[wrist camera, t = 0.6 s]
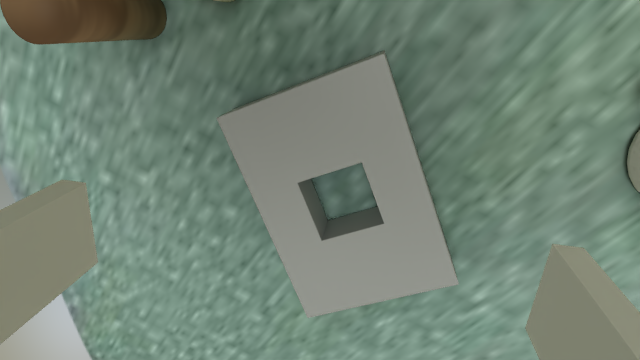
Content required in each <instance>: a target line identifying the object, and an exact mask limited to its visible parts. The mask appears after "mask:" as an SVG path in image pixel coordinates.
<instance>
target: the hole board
mask: <svg viewBox="0 0 640 360" xmlns="http://www.w3.org/2000/svg"><path fill="white" fill-rule="evenodd" d="M217 120H218V122H219V125H220V127H221V129H222V131H223V133H224V136H225V138H226V140H227V142H228V144H229V147H230V149H231V151H232V153H233V155H234V157H235V160H236V162H237V164H238V166H239V168H240V171H241V173H242V175H243V177H244V179H245V182H246V184H247V186H248V188H249V190H250V192H251V195H252V197H253V199H254V201H255V203H256V206H257V208H258V210H259V212H260V214H261V217H262V219H263V221H264V223H265V225H266V228H267V230H268V232H269V234H270V236H271V238H272V241H273V243H274V245H275V247H276V249H277V252H278V254H279V256H280V258H281V260H282V263H283V265H284V267H285V269H286V271H287V273H288V276H289V278H290V280H291V282H292V284H293V287H294V289H295V291H296V293H297V295H298V298H299V300H300V302H301V304H302V306H303V308H304V311H305V313H306V315H307V317H308V318H309V317H314V316H318V315H323V314H327V313H332V312H336V311H341V310H345V309H350V308H354V307H359V306H363V305H368V304H372V303H377V302H381V301H385V300H390V299H394V298H399V297H403V296H408V295H412V294H417V293H421V292H426V291H430V290H435V289H439V288H444V287H448V286H453V285H457V284H459V283H458V280H457V276H456V272H455V269H454V265H453V262H452V258H451V255H450V252H449V249H448V246H447V243H446V240H445V236H444V233H443V230H442V227H441V224H440V221H439V218H438V215H437V212H436V209H435V205H434V202H433V199H432V196H431V193H430V190H429V187H428V184H427V181H426V178H425V174H424V171H423V168H422V165H421V162H420V159H419V156H418V153H417V150H416V147H415V143H414V140H413V137H412V134H411V131H410V128H409V125H408V122H407V119H406V116H405V112H404V109H403V106H402V103H401V100H400V97H399V94H398V91H397V88H396V85H395V81H394V78H393V75H392V72H391V69H390V66H389V63H388V60H387V57H386V54H385V51H382V52H380V53H377V54H374V55H372V56H369V57H367V58H364V59H361V60H359V61H356V62H354V63H351V64H349V65H346V66H343V67H341V68H338V69H336V70H333V71H330V72H328V73H325V74H323V75H320V76H318V77H315V78H312V79H310V80H307V81H305V82H302V83H299V84H297V85H294V86H292V87H289V88H287V89H284V90H281V91H279V92H276V93H274V94H271V95H268V96H266V97H263V98H261V99H258V100H256V101H253V102H250V103H248V104H245V105H243V106H240V107H237V108H235V109H233V110H231V111H229V112H227V113H225V114H223V115H221V116H219V117H218V118H217ZM361 162H362V164H363V167H364V170H365V172H366V175H367V178H368V181H369V183H370V186H371V189H372V192H373V194H374V197H375V200H376V203H377V205H378V206H377V207H374V208H370V209H367V210H363V211H360V212H356V213H353V214H349V215H346V216H342V217H339V218H335V219H332V220H327V217H326V215H325V212H324V210H323V207H322V205H321V202H320V200H319V197H318V195H317V193H316V190H315V188H314V185H313V183H312V180H311V178H314V177H317V176H321V175H324V174H327V173H330V172H333V171H336V170H339V169H343V168H346V167H349V166H352V165H355V164H358V163H361Z"/></svg>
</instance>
